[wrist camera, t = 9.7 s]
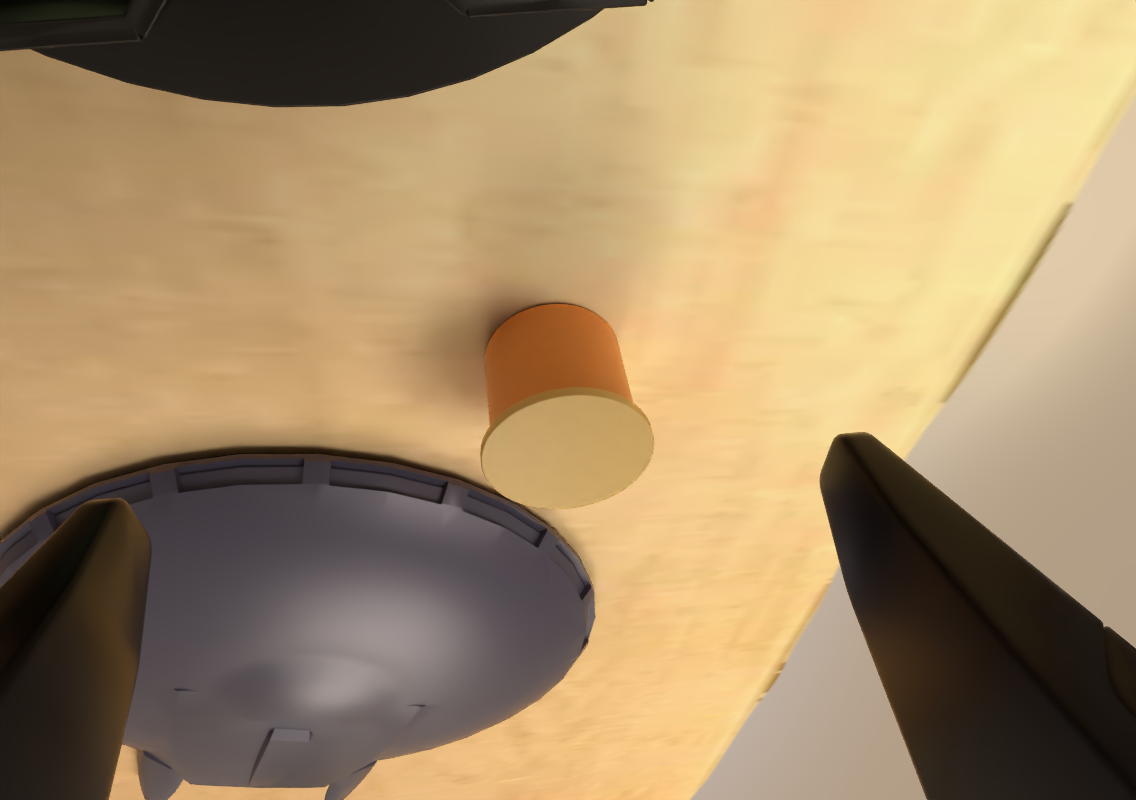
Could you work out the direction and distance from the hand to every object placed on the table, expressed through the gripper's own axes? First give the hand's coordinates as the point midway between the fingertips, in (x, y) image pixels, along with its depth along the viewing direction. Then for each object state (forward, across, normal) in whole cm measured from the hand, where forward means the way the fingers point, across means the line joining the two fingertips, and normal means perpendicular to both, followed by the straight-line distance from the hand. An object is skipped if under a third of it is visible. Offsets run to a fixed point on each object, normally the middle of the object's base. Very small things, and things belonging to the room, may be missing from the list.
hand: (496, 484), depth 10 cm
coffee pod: (+11, -2, +8) cm, 14 cm away
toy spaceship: (+11, +9, +24) cm, 28 cm away
